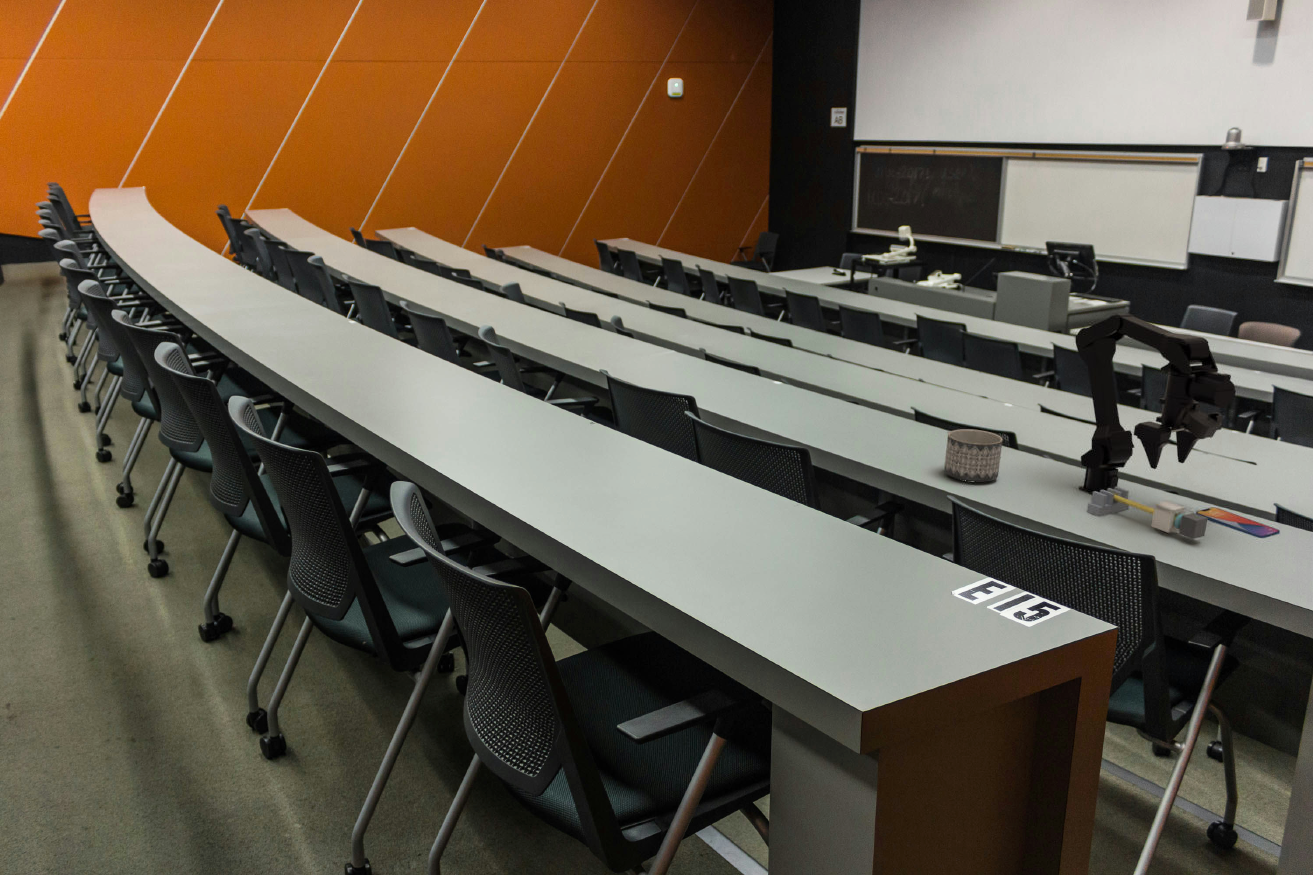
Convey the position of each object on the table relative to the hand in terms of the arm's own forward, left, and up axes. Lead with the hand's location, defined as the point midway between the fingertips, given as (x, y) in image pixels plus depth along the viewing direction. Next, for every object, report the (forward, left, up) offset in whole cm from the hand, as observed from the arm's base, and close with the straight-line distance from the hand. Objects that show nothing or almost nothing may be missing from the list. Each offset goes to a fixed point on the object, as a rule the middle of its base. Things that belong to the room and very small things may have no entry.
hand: (1167, 465), depth 207 cm
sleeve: (+7, -7, -12) cm, 15 cm away
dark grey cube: (+12, -7, -10) cm, 17 cm away
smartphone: (+10, +12, -13) cm, 20 cm away
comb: (-7, -7, -12) cm, 16 cm away
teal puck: (+10, -7, -10) cm, 15 cm away
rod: (+1, -7, -9) cm, 11 cm away
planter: (-38, -18, -12) cm, 44 cm away
